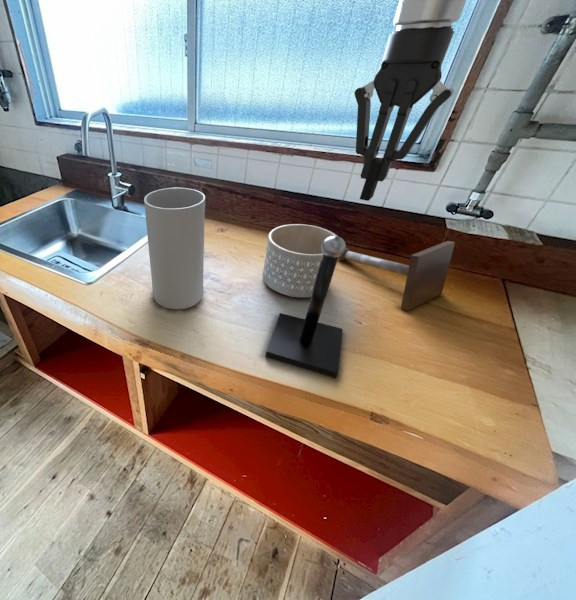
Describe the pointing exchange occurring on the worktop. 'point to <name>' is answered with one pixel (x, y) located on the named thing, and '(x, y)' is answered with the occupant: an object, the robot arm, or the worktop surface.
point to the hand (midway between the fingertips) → (366, 197)
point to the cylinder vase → (176, 245)
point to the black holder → (311, 324)
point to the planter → (294, 258)
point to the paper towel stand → (414, 271)
